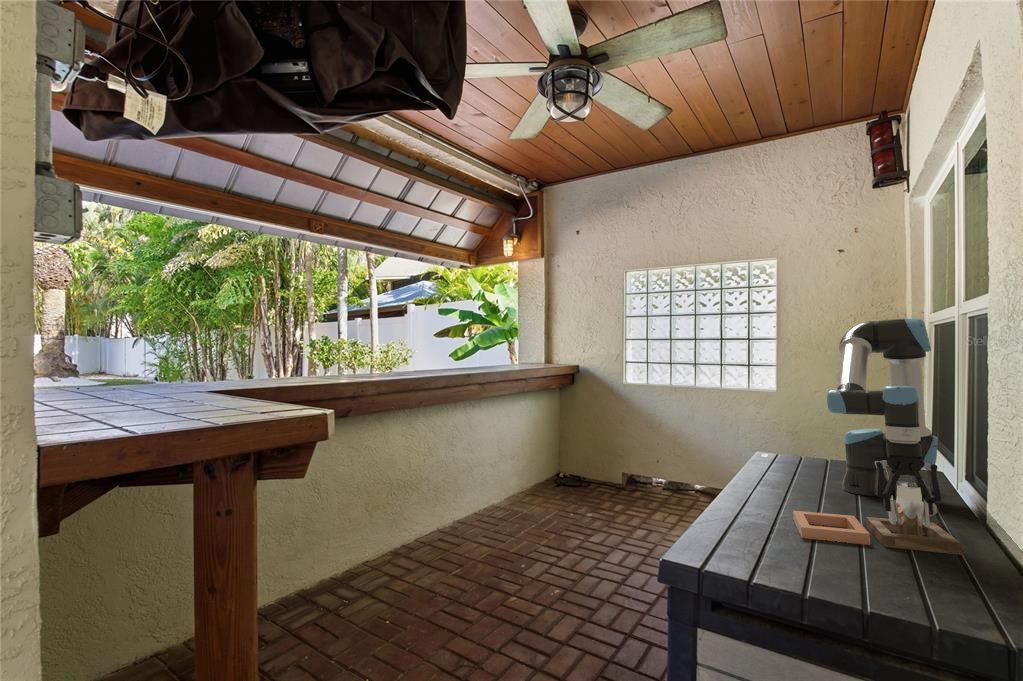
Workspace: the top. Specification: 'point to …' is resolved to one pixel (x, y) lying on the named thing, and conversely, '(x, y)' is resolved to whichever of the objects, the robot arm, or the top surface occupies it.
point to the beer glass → (908, 508)
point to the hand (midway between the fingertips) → (909, 524)
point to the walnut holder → (913, 537)
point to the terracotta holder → (850, 535)
